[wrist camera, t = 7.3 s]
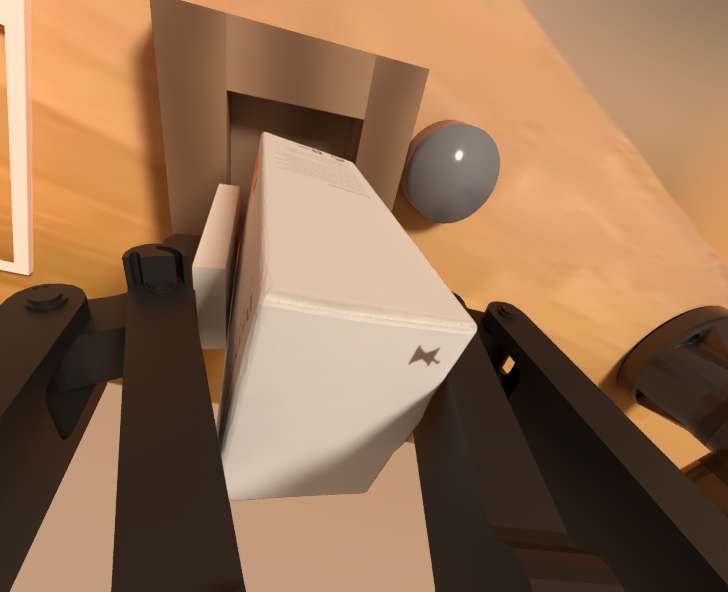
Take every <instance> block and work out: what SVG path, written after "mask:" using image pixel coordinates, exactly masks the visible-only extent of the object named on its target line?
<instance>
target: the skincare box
mask: <svg viewBox="0 0 728 592" xmlns="http://www.w3.org/2000/svg"><path fill="white" fill-rule="evenodd" d="M476 331H477V325H476V323H475V322H474V320H473V319H472V318H471V316H470V315H469V314H468V313H467V311H466V310H465V309H464V308H463V306H462V305H461V304H460V302H459V301H458V300H457V298H456V297H455V296H454V295H453V293H452V292H451V291H450V289H449V288H448V287H447V286H446V285H445V283H444V282H443V281H442V279H441V278H440V277H439V275H438V274H437V272H436V271H435V270H434V268H433V267H432V266H431V265H430V263H429V262H428V261H427V259H426V258H425V257H424V255H423V254H422V253H421V251H420V250H419V249H418V247H417V246H416V245H415V243H414V242H413V241H412V240H411V238H410V237H409V236H408V234H407V233H406V232H405V231H404V229H403V228H402V226H401V225H400V224H399V222H398V221H397V220H396V218H395V217H394V216H393V214H392V213H391V212H390V211H389V209H388V208H387V207H386V205H385V204H384V203H383V201H382V200H381V199H380V198H379V196H378V195H377V194H376V192H375V191H374V190H373V188H372V187H371V186H370V185H369V183H368V182H367V180H366V179H365V178H364V177H363V175H362V174H361V173H360V171H359V170H358V169H357V167H356V166H355V165H354V164H353V163H352V162H350V161H347V160H345V159H342V158H339V157H336V156H333V155H330V154H328V153H325V152H322V151H320V150H317V149H313V148H310V147H307V146H304V145H301V144H298V143H295V142H292V141H290V140H287V139H284V138H281V137H278V136H275V135H272V134H270V133H267V132H263V133H262V134H261V139H260V144H259V150H258V155H257V160H256V165H255V170H254V175H253V180H252V185H251V189H250V194H249V199H248V204H247V209H246V215H245V220H244V225H243V230H242V235H241V239H240V243H239V248H238V255H237V263H236V271H235V280H234V288H233V296H232V304H231V312H230V320H229V328H228V336H227V344H226V350H225V359H224V367H223V375H222V384H221V392H220V400H219V409H218V417H217V426H216V430H217V436H218V441H219V447H220V452H221V458H222V464H223V469H224V475H225V480H226V486H227V491H228V497H229V501H234V500H253V499H266V498H281V497H297V496H299V497H300V496H316V495H336V494H360V493H365V492H367V491H368V489H369V488H370V486H371V485H372V483H373V482H374V480H375V479H376V477H377V476H378V474H379V473H380V472H381V470H382V469H383V467H384V466H385V464H386V463H387V462H388V460H389V459H390V457H391V456H392V454H393V453H394V452H395V451H396V450H397V449H398V448H399V447H400V446H401V445H403V444H404V442H405V441H406V440H407V439H408V438H409V436H410V435H411V433H412V432H413V430H414V428H415V427H416V426H417V425H418V423H419V422H420V420H421V419H422V417H423V415H424V413H425V410H426V408H427V405H428V404H429V402H430V400H431V398H432V396H433V395H434V394H435V392H436V391H437V389H438V388H439V386H440V385H441V383H442V382H443V380H444V379H445V377H446V375H447V374H448V372H449V371H450V370H451V368H452V367H453V365H454V364H455V363H456V361H457V360H458V358H459V357H460V355H461V354H462V352H463V351H464V349H465V348H466V346H467V345H468V343H469V342H470V340H471V339H472V338H473V336H474V335H475V333H476Z"/></svg>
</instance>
